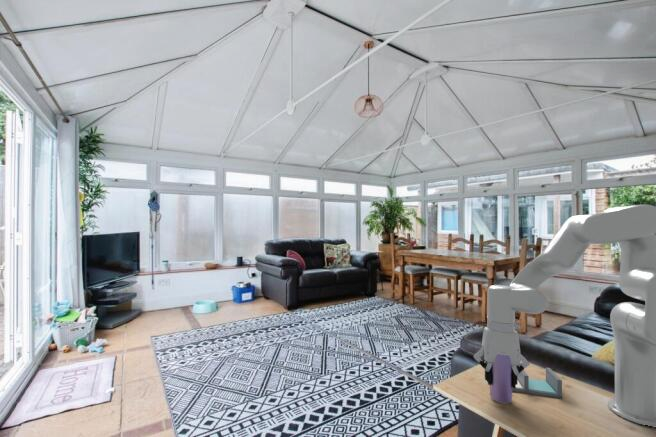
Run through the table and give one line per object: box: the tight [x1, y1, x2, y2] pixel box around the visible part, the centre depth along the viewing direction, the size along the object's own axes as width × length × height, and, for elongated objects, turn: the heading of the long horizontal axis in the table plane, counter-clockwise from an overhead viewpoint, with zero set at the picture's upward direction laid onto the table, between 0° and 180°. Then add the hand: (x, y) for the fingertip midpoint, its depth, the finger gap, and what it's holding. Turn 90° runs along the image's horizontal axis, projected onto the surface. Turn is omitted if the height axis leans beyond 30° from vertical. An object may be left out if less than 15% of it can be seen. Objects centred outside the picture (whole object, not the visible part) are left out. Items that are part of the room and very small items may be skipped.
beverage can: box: [489, 353, 513, 405], centre depth 96 cm, size 6×6×15 cm
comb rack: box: [512, 367, 563, 399], centre depth 104 cm, size 20×9×6 cm, turn 74°
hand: (500, 384), depth 96 cm, fingers closed on beverage can, 6 cm apart
